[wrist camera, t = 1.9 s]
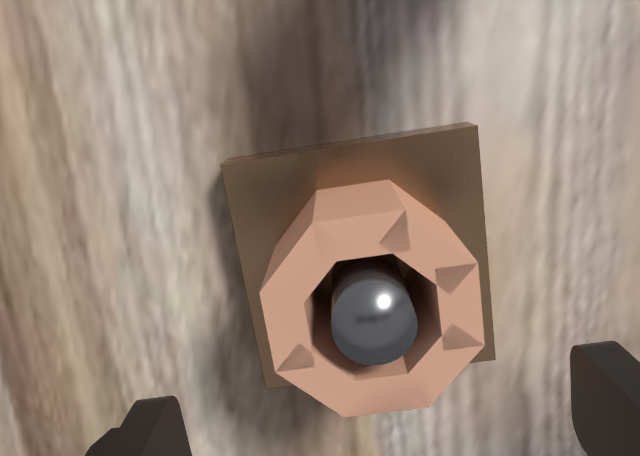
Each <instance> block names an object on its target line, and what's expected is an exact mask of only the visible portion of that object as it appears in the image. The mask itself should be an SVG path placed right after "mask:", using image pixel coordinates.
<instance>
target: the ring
mask: <svg viewBox="0 0 640 456" xmlns="http://www.w3.org/2000/svg"><path fill="white" fill-rule="evenodd" d="M392 253H393V254H394V255H395V256H397V257H398V258H400V259H401V260H402V261H404V262H405V263H407V264H408V265H409V266H411V267H412V268H414V269H415V270H416V271H417V276H418V280H417V281H416V282H415V284H414V285H413V286H412V287H411V288H410V290H409V291H408V294H409V297H410V299H411V302H412V305H413V308H414V311H415V313H416V316H417V322H418V329H417V335H416V338H415V340H414V342H413V344H412V346H411V347H410V349H409V350H408V351H407V352H406V353H405V354H404V355H403V356H401V357H400V358H399V359H397V360H395V361H393V362H391V363H388V364H384V365H376V366H372V365H364V364H360V363H357V362H355V361H353V360H351V359H349V358H348V357H347V356H345V355H344V354H343V353H342V352H341V351H340V350H339V348H338V347H337V345H336V343H335V341H334V339H333V335H332V328H331V305H332V304H331V303H330V302H328V301H327V300H326V299H324V298H323V297H321V296H320V295H318V294H317V293H316V287H317V285H318V284H319V283H320V282H321V280H322V279H323V278H324V277H325V275H326V274H327V273H328V271H329V270H330V269H331V268H332V266H333V265H334V264H335V263H336V261H342V260H349V259H356V258H364V257H371V256H378V255H385V254H392ZM259 293H260V298H261V304H262V309H263V314H264V319H265V324H266V329H267V334H268V339H269V344H270V349H271V354H272V359H273V364H274V369H275V373H277V374H279V375H280V376H282V377H283V378H285V379H286V380H288V381H289V382H291V383H292V384H294V385H295V386H297V387H298V388H300V389H301V390H303V391H305V392H306V393H308V394H309V395H311V396H312V397H314V398H315V399H317V400H318V401H320V402H321V403H323V404H324V405H326V406H327V407H329V408H331V409H332V410H334V411H335V412H337V413H338V414H340V415H341V416H343V417H352V416H360V415H368V414H377V413H385V412H393V411H401V410H410V409H418V408H426V407H429V406H430V405H431V404H432V403H433V402H434V401H435V400H436V399H437V397H438V396H439V395H440V394H441V393H442V392H443V391H444V390H445V389H446V388H447V386H448V385H449V384H450V383H451V382H452V381H453V380H454V379H455V378H456V377H457V376H458V374H459V373H460V372H461V371H462V370H463V369H464V368H465V367H466V366H467V365H468V363H469V362H470V361H471V360H472V359H473V358H474V357H475V356H476V355H477V354H478V352H479V351H480V350H481V349H482V348H483V347H484V346H485V341H484V329H483V317H482V304H481V292H480V280H479V268H478V262H477V261H476V259H475V258H474V257H473V256H472V254H471V253H470V252H469V251H468V249H467V248H466V247H465V246H464V244H463V243H462V242H461V241H460V239H459V238H458V237H457V236H456V234H455V233H454V232H453V231H452V229H451V228H450V227H449V225H448V224H447V223H446V222H445V221H444V220H443V219H441V218H440V217H439V216H437V215H436V214H435V213H433V212H432V211H431V210H429V209H428V208H427V207H425V206H424V205H423V204H421V203H420V202H418V201H417V200H416V199H414V198H413V197H412V196H410V195H409V194H408V193H406V192H405V191H404V190H402V189H401V188H400V187H398V186H397V185H396V184H394V183H393V182H392V181H390V180H389V179H388V180H382V181H375V182H368V183H361V184H355V185H348V186H341V187H334V188H328V189H321V190H316V192H315V193H314V194H313V196H312V197H311V198H310V200H309V201H308V202H307V204H306V205H305V206H304V208H303V209H302V211H301V212H300V213H299V215H298V216H297V217H296V219H295V220H294V221H293V223H292V224H291V225H290V227H289V228H288V229H287V231H286V232H285V233H284V235H283V236H282V237H281V239H280V240H279V241H278V243H277V244H276V245H275V248H274V251H273V254H272V257H271V260H270V263H269V266H268V269H267V272H266V275H265V278H264V281H263V283H262V286H261V289H260V292H259Z"/></svg>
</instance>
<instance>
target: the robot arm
mask: <svg viewBox="0 0 640 456" xmlns="http://www.w3.org/2000/svg"><path fill="white" fill-rule="evenodd" d="M570 370H571V407H572V420H573V425H574V429H575V432H576V435H577V438H578V440H579V442H580V444H581V446H582V448H583V449H584V451H585V452H586V453H587V455H588V456H640V362H639V361H638V360H636V359H635V358H634V357H633V356H632V355H631V354H630V353H629V352H627V351H626V350H625V349H624V348H623V347H622V346H621V345H620V344H618V343H617V342H615V341H606V342H598V343H590V344H582V345H575V346H573V347H572V349H571V354H570ZM85 456H192V454H191V450H190V446H189V442H188V437H187V433H186V429H185V425H184V421H183V417H182V413H181V409H180V405H179V402H178V400H177V398H176V397H175V396H166V397H158V398H150V399H142V400H137V401H136V402H135V403H134V404H133V406H132V408H131V409H130V411H129V413H128V414H127V416H126V418H125V419H124V421H123V423H122V425H121V426H120V428H112V429H110V430H109V431H108V432H107V433H106V434H104V435H103V436H102V437H101V438H100V439H99V440H98V441H96V442H95V443H94V444H93V445H92V446H91V447H90V448H89V450H88V451H87V453H86V455H85Z"/></svg>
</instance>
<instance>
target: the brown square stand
mask: <svg viewBox="0 0 640 456" xmlns="http://www.w3.org/2000/svg"><path fill="white" fill-rule="evenodd" d="M220 166H221V171H222V176H223V180H224V185H225V190H226V195H227V200H228V205H229V210H230V215H231V219H232V224H233V229H234V234H235V239H236V244H237V249H238V254H239V258H240V263H241V268H242V273H243V278H244V283H245V288H246V293H247V297H248V302H249V307H250V312H251V317H252V322H253V327H254V332H255V336H256V341H257V346H258V351H259V356H260V361H261V366H262V371H263V376H264V380H265V385H266V389H267V388H275V387H283V386H291V385H294V384H292V383H291V382H289V381H288V380H286V379H285V378H283V377H282V376H280V375H279V374H277V373H275V369H274V364H273V359H272V354H271V349H270V344H269V339H268V334H267V329H266V324H265V319H264V314H263V309H262V304H261V298H260V293H259V292H260V289H261V286H262V283H263V281H264V278H265V275H266V272H267V269H268V266H269V263H270V260H271V257H272V254H273V251H274V248H275V245H276V244H277V243H278V241H279V240H280V239H281V237H282V236H283V235H284V233H285V232H286V231H287V229H288V228H289V227H290V225H291V224H292V223H293V221H294V220H295V219H296V217H297V216H298V215H299V213H300V212H301V211H302V209H303V208H304V206H305V205H306V204H307V202H308V201H309V200H310V198H311V197H312V196H313V194H314V193H315V192H316V190H321V189H328V188H334V187H341V186H348V185H355V184H361V183H368V182H375V181H382V180H388V179H389V180H390V181H392V182H393V183H394V184H396V185H397V186H398V187H400V188H401V189H402V190H404V191H405V192H406V193H408V194H409V195H410V196H412V197H413V198H414V199H416V200H417V201H418V202H420V203H421V204H423V205H424V206H425V207H427V208H428V209H429V210H431V211H432V212H433V213H435V214H436V215H437V216H439V217H440V218H441V219H443V220H444V221H445V222H446V223H447V224H448V225H449V227H450V228H451V229H452V231H453V232H454V233H455V234H456V236H457V237H458V238H459V239H460V241H461V242H462V243H463V244H464V246H465V247H466V248H467V249H468V251H469V252H470V253H471V254H472V256H473V257H474V258H475V259H476V261H477V262H478V268H479V280H480V292H481V304H482V317H483V329H484V341H485V346H484V347H483V348H482V349H481V350H480V351H479V352H478V354H477V355H476V356H475V357H474V358H473V359H472V360H471V361H470V362H469V363H474V362H482V361H490V360H496V359H495V346H494V333H493V320H492V307H491V294H490V281H489V268H488V255H487V242H486V229H485V216H484V202H483V189H482V176H481V163H480V150H479V137H478V125H474V124H471V123H468V122H464V123H458V124H451V125H445V126H438V127H432V128H425V129H419V130H412V131H406V132H399V133H393V134H386V135H380V136H373V137H367V138H360V139H354V140H347V141H341V142H334V143H328V144H321V145H314V146H308V147H301V148H295V149H288V150H282V151H275V152H269V153H262V154H256V155H249V156H243V157H236V158H230V159H227V160H226V161H225V162H223V163H222V164H221V165H220ZM417 280H418V276H417V271H416V270H415V269H414V268H412V267H411V266H409V265H408V264H407V263H405V262H404V261H402V260H401V259H400V258H398V257H397V256H395V255H394V254H393V253H392V254H385V255H378V256H371V257H364V258H356V259H349V260H342V261H336V263H335V264H334V265H333V266H332V268H331V269H330V270H329V271H328V273H327V274H326V275H325V277H324V278H323V279H322V280H321V282H320V283H319V284H318V285H317V287H316V293H317V294H318V295H320V296H321V297H323V298H324V299H326V300H327V301H328V302H330V303H331V304H332V305H331V328H332V335H333V339H334V341H335V343H336V345H337V347H338V348H339V350H340V351H341V352H342V353H343V354H344V355H345V356H347V357H348V358H349V359H351V360H353V361H355V362H357V363H360V364H364V365H372V366H376V365H384V364H388V363H391V362H393V361H395V360H397V359H399V358H400V357H401V356H403V355H404V354H405V353H406V352H407V351H408V350H409V349H410V347H411V346H412V344H413V342H414V340H415V338H416V335H417V329H418V322H417V316H416V313H415V311H414V308H413V305H412V302H411V299H410V297H409V294H408V291H409V290H410V288H411V287H412V286H413V285H414V284H415V282H416V281H417Z"/></svg>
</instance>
